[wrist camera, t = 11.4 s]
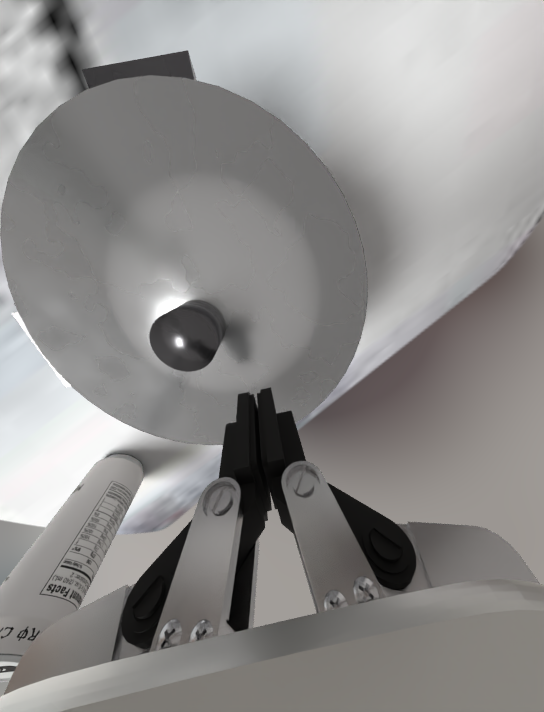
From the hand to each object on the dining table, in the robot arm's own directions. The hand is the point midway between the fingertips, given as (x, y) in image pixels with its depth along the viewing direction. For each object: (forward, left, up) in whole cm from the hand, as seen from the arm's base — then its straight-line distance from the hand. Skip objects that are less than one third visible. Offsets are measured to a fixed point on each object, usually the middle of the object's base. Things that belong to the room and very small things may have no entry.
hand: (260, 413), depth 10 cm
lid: (-4, -3, -4) cm, 6 cm away
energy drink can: (+15, -21, -12) cm, 28 cm away
